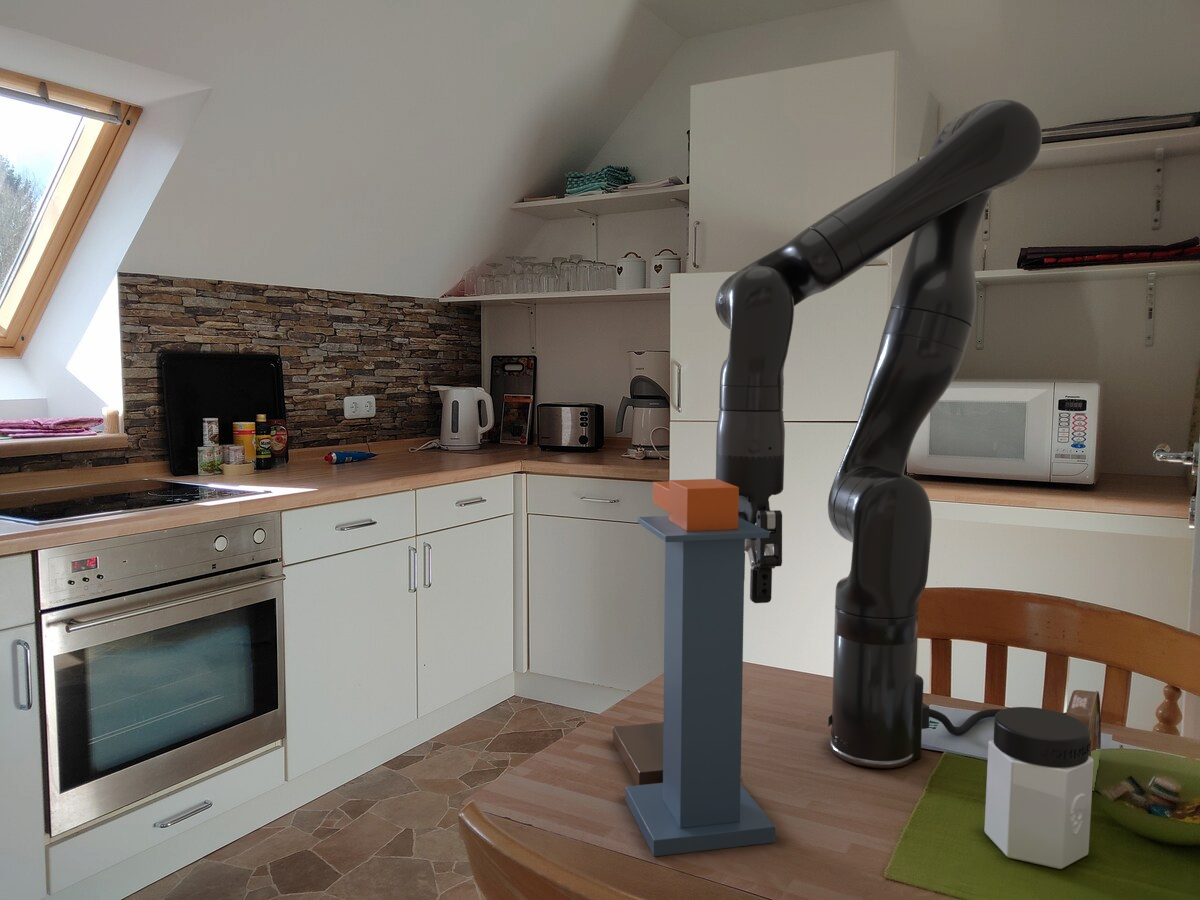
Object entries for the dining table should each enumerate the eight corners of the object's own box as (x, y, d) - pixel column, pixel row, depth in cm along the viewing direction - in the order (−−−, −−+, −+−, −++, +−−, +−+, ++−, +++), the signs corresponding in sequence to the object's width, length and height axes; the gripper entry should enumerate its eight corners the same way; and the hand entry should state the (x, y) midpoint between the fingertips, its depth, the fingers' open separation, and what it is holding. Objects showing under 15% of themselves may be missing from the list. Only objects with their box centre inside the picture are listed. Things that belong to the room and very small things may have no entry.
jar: (1049, 879, 82) (1056, 749, 81) (968, 839, 88) (973, 718, 87) (1103, 850, 87) (1111, 726, 85) (1022, 814, 93) (1028, 699, 92)
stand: (734, 789, 99) (739, 512, 96) (775, 842, 88) (782, 532, 85) (625, 801, 96) (626, 516, 93) (653, 856, 85) (656, 537, 82)
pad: (684, 736, 112) (684, 720, 112) (719, 782, 100) (719, 764, 100) (612, 742, 111) (612, 726, 110) (639, 790, 98) (639, 772, 98)
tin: (1091, 805, 95) (1096, 726, 94) (1057, 797, 97) (1062, 720, 96) (1102, 752, 108) (1106, 682, 107) (1072, 746, 110) (1075, 677, 109)
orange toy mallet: (685, 502, 102) (685, 466, 102) (738, 529, 86) (739, 487, 86) (641, 503, 101) (641, 467, 101) (687, 531, 85) (687, 488, 85)
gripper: (807, 456, 97) (803, 607, 98) (759, 443, 111) (756, 576, 112) (739, 457, 95) (736, 611, 97) (699, 444, 109) (696, 579, 111)
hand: (746, 592), depth 105 cm, fingers open, 8 cm apart
